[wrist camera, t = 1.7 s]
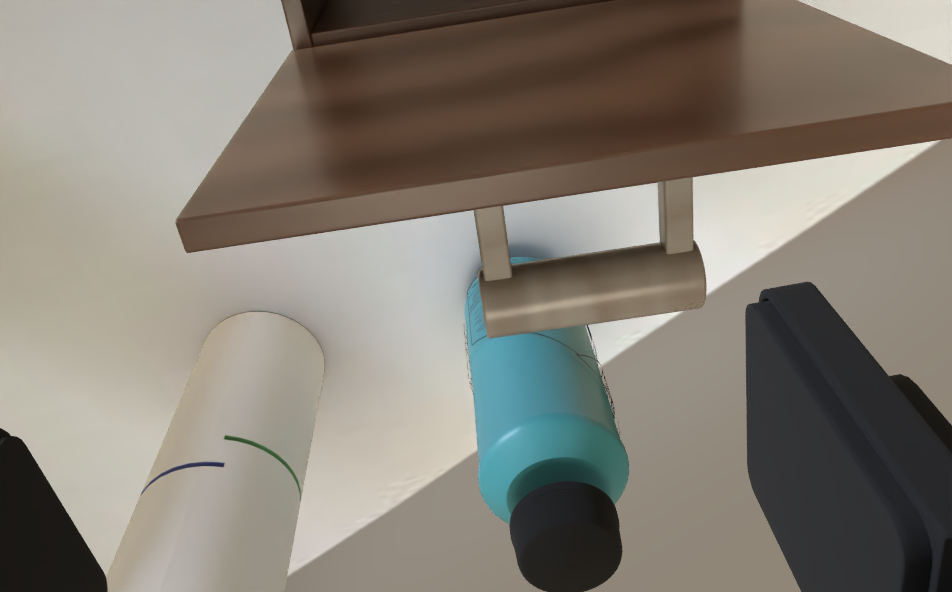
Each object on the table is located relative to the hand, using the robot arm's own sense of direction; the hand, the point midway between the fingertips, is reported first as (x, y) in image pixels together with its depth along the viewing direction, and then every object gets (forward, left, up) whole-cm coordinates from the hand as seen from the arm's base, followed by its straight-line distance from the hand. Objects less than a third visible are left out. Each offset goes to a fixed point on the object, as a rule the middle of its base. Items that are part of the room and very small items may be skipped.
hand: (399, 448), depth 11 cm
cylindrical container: (+3, -23, -32) cm, 40 cm away
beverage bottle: (+13, -11, -32) cm, 37 cm away
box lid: (+3, +3, -16) cm, 16 cm away
